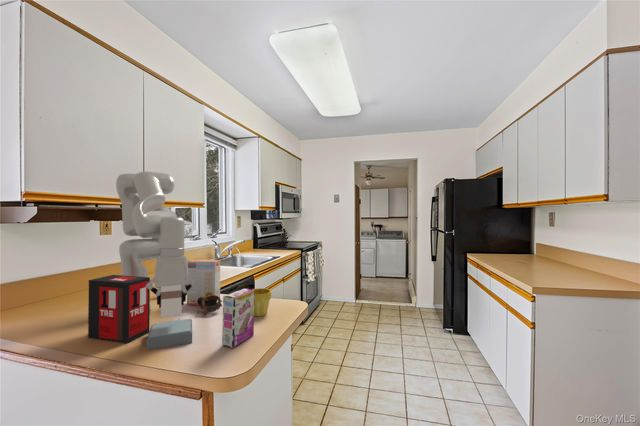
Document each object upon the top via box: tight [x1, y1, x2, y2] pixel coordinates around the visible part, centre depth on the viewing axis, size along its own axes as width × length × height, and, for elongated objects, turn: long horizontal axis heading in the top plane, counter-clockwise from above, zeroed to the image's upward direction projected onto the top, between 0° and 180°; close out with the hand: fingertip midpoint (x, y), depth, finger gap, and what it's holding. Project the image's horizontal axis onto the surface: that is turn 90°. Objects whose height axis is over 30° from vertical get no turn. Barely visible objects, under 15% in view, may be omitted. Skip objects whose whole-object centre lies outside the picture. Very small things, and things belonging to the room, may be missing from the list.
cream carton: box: [160, 284, 183, 318], centre depth 98 cm, size 6×7×10 cm
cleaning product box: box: [87, 274, 151, 344], centre depth 100 cm, size 16×9×20 cm, turn 77°
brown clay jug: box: [197, 295, 223, 316], centre depth 125 cm, size 12×10×8 cm
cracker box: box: [186, 259, 221, 306], centre depth 135 cm, size 14×6×21 cm, turn 84°
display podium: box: [146, 318, 193, 351], centre depth 98 cm, size 13×13×4 cm
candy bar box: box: [221, 288, 255, 349], centre depth 97 cm, size 11×5×16 cm, turn 157°
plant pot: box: [251, 287, 272, 317], centre depth 123 cm, size 10×10×10 cm
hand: (171, 304), depth 98 cm, fingers closed on cream carton, 6 cm apart
